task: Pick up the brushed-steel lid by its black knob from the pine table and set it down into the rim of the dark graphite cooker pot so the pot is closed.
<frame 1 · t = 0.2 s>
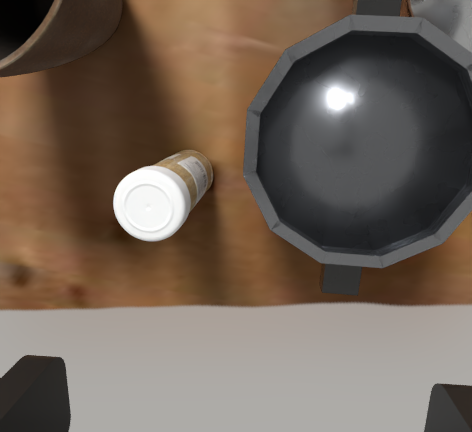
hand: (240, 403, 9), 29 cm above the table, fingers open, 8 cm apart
sprinkles bottle: (190, 173, 37), on the table
plant pot: (80, 4, 34), on the table
pot: (336, 139, 35), on the table
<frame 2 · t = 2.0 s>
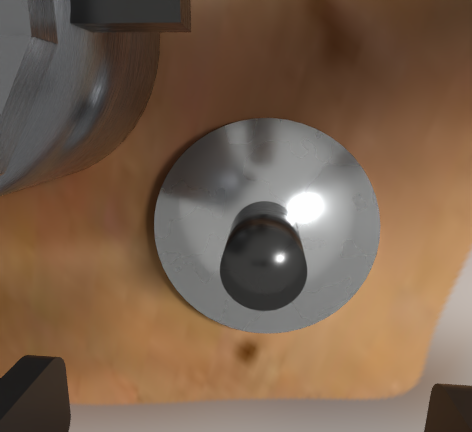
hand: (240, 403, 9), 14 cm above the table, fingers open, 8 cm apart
lid: (264, 228, 22), on the table
pot: (16, 34, 20), on the table
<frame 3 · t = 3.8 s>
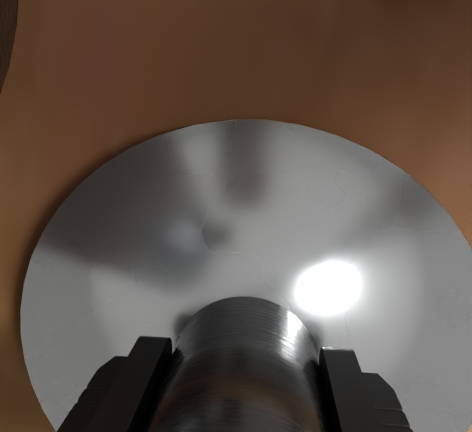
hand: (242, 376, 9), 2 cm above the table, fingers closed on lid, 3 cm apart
lid: (247, 338, 11), on the table, touching gripper
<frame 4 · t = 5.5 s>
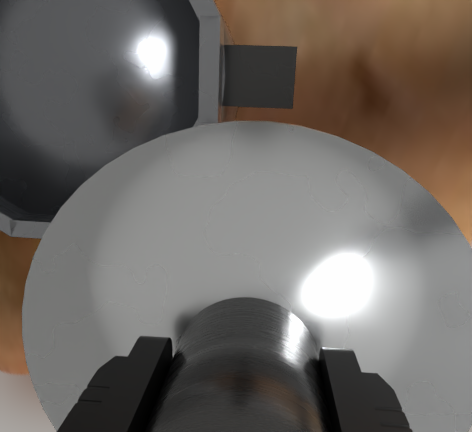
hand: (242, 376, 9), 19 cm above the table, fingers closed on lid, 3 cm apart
lid: (248, 339, 11), point 18 cm above the table, touching gripper
pot: (131, 83, 27), on the table
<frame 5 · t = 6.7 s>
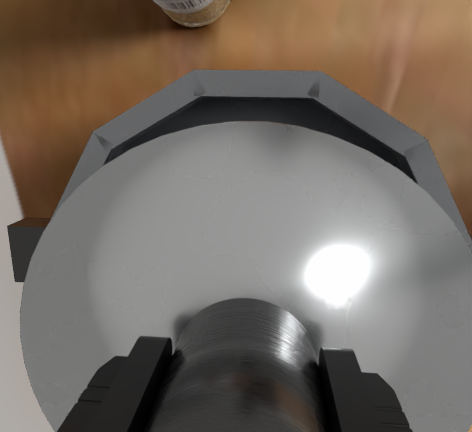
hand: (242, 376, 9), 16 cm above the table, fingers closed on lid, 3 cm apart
lid: (247, 340, 11), point 15 cm above the table, touching gripper
pot: (258, 212, 25), on the table
when the fingers open (13 cm above the table, at t = 7.5 s): lid drops 1 cm, resting on pot.
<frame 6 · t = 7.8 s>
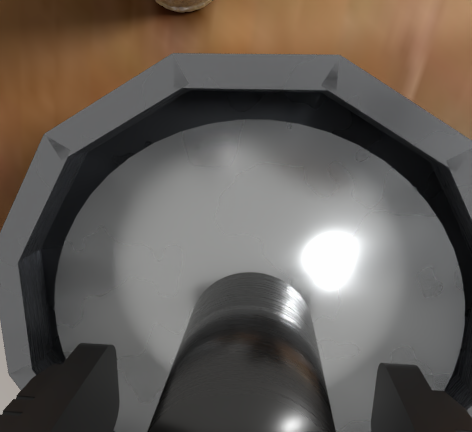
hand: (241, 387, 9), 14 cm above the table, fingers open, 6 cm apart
lid: (252, 312, 13), point 10 cm above the table, touching pot
pot: (257, 224, 22), on the table
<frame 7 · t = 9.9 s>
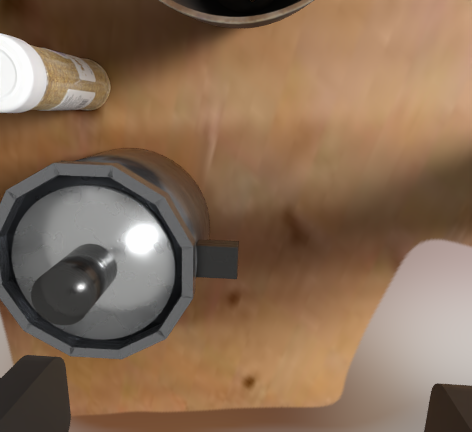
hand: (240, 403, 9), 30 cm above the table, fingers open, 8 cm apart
sprinkles bottle: (87, 85, 36), on the table
lid: (98, 261, 30), point 10 cm above the table, touching pot
pot: (135, 223, 39), on the table
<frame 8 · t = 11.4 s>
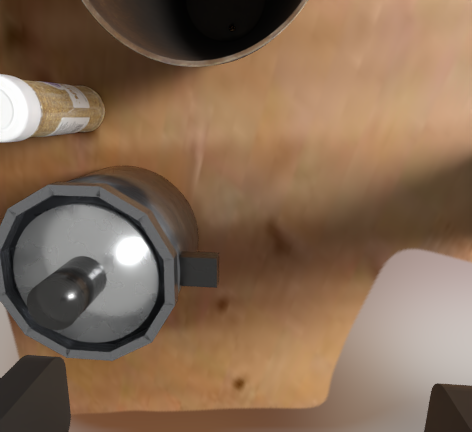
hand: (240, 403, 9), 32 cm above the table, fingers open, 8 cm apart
sprinkles bottle: (84, 109, 39), on the table
lid: (90, 272, 33), point 10 cm above the table, touching pot
pot: (129, 235, 42), on the table
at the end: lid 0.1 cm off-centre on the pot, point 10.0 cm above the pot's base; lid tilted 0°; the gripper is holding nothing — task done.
